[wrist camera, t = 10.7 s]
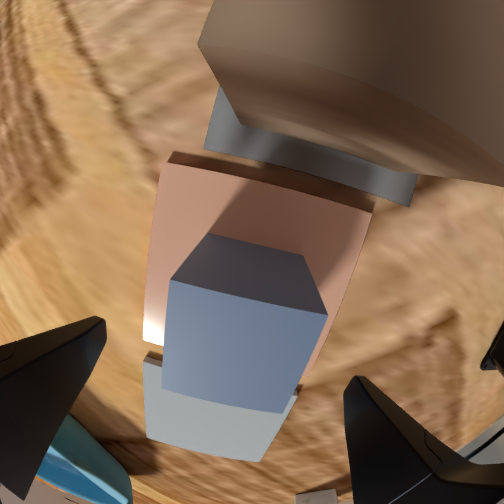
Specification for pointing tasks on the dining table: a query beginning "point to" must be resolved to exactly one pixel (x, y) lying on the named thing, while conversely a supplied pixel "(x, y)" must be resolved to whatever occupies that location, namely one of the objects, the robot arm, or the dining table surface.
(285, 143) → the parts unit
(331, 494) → the syrup box
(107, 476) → the casserole dish
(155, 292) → the terracotta mat
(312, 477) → the dining table surface
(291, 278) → the block
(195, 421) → the grey mat
